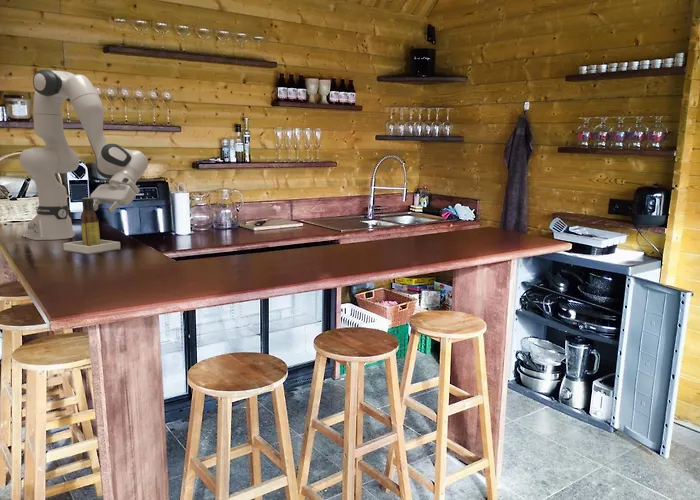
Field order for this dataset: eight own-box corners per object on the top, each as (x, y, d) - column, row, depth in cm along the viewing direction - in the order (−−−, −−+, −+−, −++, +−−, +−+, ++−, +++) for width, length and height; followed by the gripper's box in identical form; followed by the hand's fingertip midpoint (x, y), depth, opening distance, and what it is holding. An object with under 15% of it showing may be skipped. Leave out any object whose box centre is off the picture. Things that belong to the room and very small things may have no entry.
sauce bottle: (103, 247, 228) (101, 197, 225) (95, 250, 222) (92, 198, 219) (87, 247, 229) (84, 197, 226) (78, 249, 223) (75, 198, 220)
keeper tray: (63, 251, 223) (63, 243, 222) (96, 246, 235) (95, 238, 235) (88, 254, 216) (88, 246, 215) (120, 249, 228) (120, 242, 228)
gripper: (98, 177, 237) (78, 203, 230) (133, 180, 227) (113, 206, 220) (108, 188, 242) (89, 213, 235) (143, 191, 232) (123, 217, 225)
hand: (101, 210), depth 227 cm, fingers open, 8 cm apart
